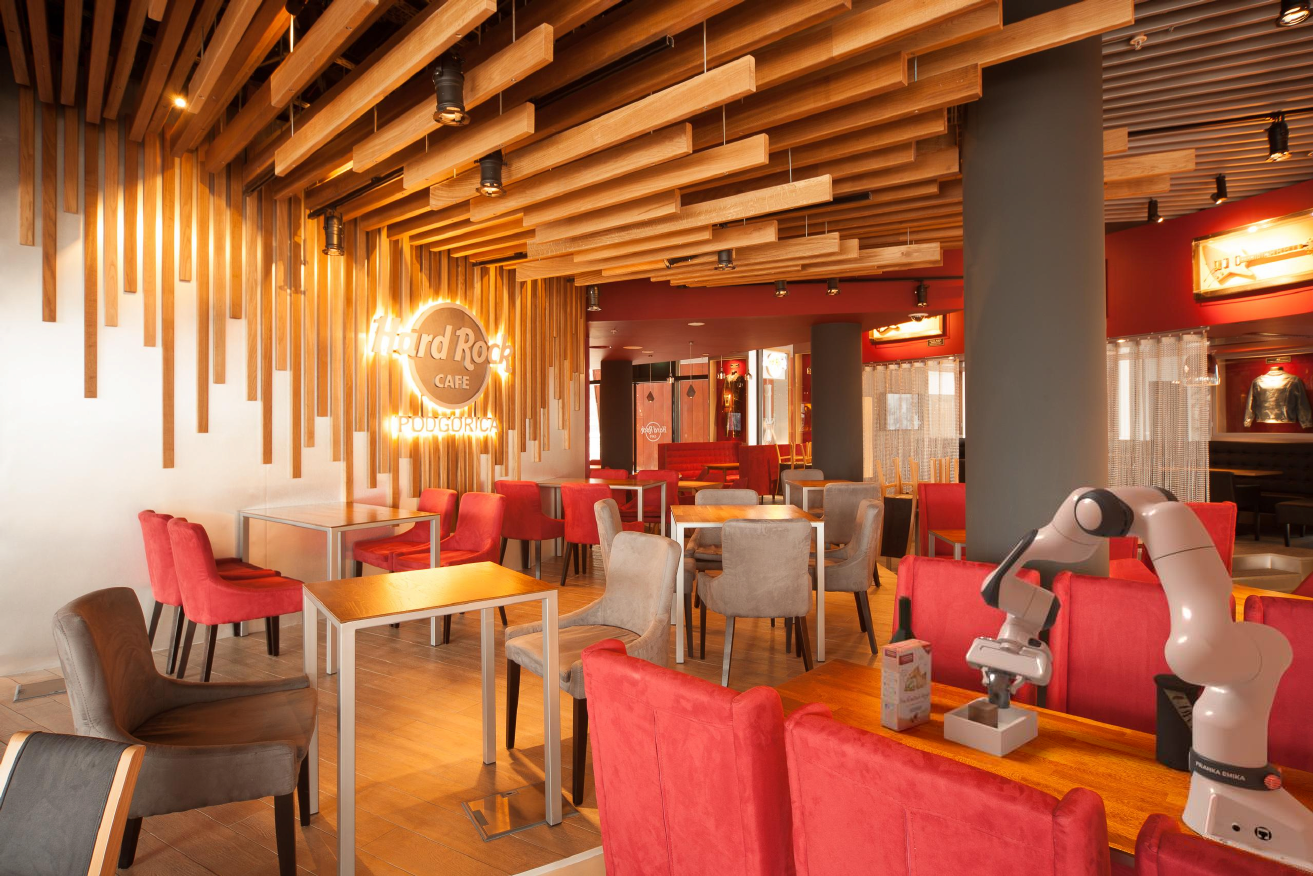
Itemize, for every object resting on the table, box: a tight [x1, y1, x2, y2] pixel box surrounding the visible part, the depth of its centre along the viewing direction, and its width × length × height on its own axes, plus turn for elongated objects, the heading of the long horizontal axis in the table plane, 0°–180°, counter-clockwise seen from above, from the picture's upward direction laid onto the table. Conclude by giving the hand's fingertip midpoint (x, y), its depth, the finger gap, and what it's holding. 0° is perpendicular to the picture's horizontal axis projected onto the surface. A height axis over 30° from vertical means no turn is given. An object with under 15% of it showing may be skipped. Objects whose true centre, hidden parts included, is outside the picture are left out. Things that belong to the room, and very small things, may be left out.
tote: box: [943, 696, 1039, 758], centre depth 177 cm, size 14×20×6 cm
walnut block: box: [968, 700, 998, 729], centre depth 174 cm, size 5×5×8 cm
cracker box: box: [880, 638, 932, 733], centre depth 186 cm, size 14×6×21 cm, turn 125°
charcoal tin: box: [987, 671, 1011, 709], centre depth 180 cm, size 5×5×8 cm
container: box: [1152, 673, 1203, 772], centre depth 163 cm, size 9×9×20 cm
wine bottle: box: [888, 595, 918, 645], centre depth 202 cm, size 8×8×30 cm
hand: (997, 688), depth 180 cm, fingers closed on charcoal tin, 5 cm apart
